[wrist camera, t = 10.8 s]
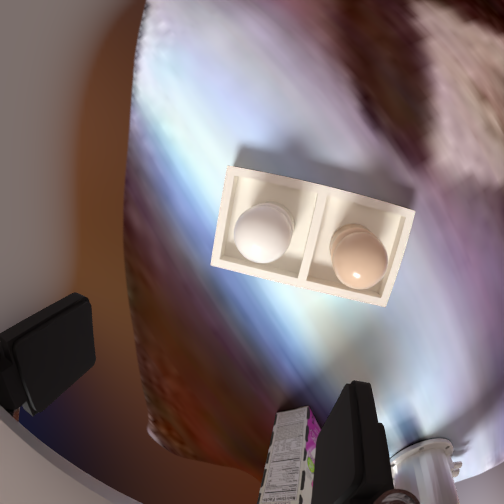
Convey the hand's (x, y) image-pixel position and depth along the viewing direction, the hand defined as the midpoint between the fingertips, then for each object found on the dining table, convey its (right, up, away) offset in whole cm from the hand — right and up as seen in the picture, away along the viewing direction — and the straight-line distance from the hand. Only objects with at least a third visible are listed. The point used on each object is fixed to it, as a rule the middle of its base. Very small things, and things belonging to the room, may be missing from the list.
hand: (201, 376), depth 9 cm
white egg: (+3, +7, +19) cm, 20 cm away
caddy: (+7, +6, +19) cm, 21 cm away
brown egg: (+11, +5, +18) cm, 22 cm away
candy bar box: (+9, -21, +25) cm, 34 cm away
